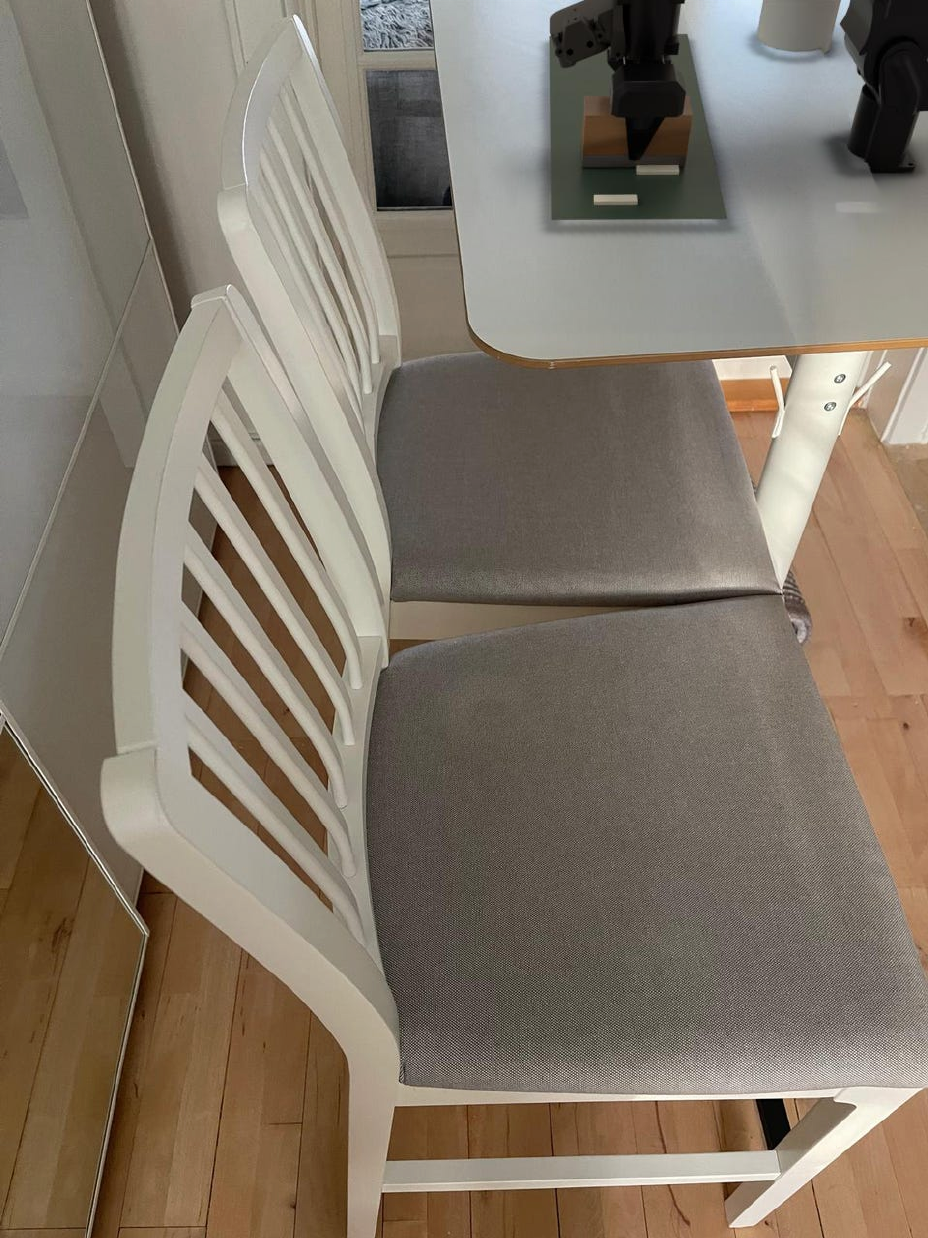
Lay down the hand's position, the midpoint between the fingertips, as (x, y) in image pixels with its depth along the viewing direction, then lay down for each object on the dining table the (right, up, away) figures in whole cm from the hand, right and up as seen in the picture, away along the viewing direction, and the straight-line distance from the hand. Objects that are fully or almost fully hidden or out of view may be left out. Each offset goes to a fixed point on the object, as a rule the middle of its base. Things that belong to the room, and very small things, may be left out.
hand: (633, 148), depth 96 cm
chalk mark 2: (+2, -3, -1) cm, 4 cm away
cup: (+21, +20, +18) cm, 34 cm away
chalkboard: (+1, +6, +7) cm, 9 cm away
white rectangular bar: (-2, -7, -4) cm, 8 cm away
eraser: (0, -1, +1) cm, 1 cm away
